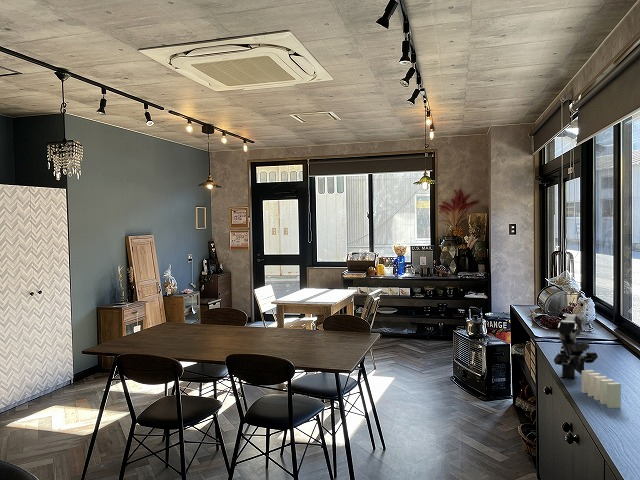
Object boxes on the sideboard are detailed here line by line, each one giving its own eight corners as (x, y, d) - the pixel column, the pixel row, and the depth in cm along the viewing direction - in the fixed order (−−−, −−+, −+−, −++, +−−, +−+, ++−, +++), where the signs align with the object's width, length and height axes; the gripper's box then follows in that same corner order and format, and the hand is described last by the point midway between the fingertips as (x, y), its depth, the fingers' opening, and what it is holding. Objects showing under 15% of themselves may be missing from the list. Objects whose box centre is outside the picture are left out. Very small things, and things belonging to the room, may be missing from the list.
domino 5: (606, 406, 207) (606, 383, 206) (618, 406, 207) (618, 382, 207) (609, 408, 205) (609, 384, 205) (620, 407, 206) (620, 383, 205)
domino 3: (593, 399, 215) (593, 376, 215) (604, 398, 216) (604, 376, 215) (596, 400, 214) (596, 377, 213) (607, 400, 214) (607, 377, 214)
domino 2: (587, 395, 220) (587, 373, 219) (598, 395, 220) (598, 372, 220) (589, 397, 218) (589, 374, 218) (600, 396, 219) (600, 374, 218)
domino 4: (600, 403, 211) (600, 379, 211) (611, 402, 212) (611, 379, 211) (602, 404, 210) (602, 380, 209) (613, 403, 210) (613, 380, 210)
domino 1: (581, 392, 224) (581, 370, 224) (592, 391, 224) (592, 370, 224) (583, 393, 222) (583, 371, 222) (594, 393, 223) (594, 371, 222)
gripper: (557, 336, 230) (570, 367, 220) (595, 334, 232) (611, 365, 221) (548, 349, 238) (560, 379, 228) (585, 347, 240) (599, 377, 229)
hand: (583, 374), depth 226 cm, fingers closed
